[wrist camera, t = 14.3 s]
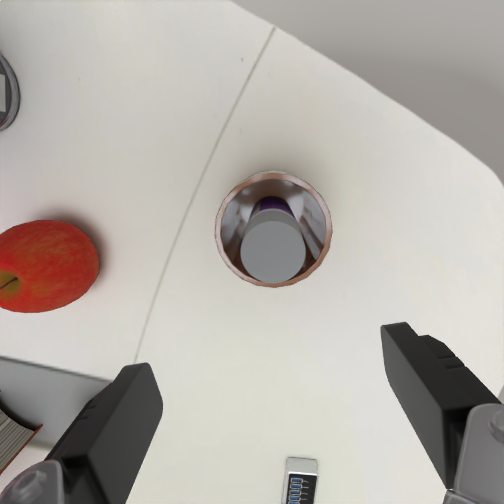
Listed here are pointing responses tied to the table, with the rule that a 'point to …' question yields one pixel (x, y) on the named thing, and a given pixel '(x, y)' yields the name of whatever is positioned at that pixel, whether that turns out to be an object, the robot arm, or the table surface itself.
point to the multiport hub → (300, 481)
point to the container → (272, 242)
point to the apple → (45, 266)
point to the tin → (302, 205)
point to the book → (12, 439)
